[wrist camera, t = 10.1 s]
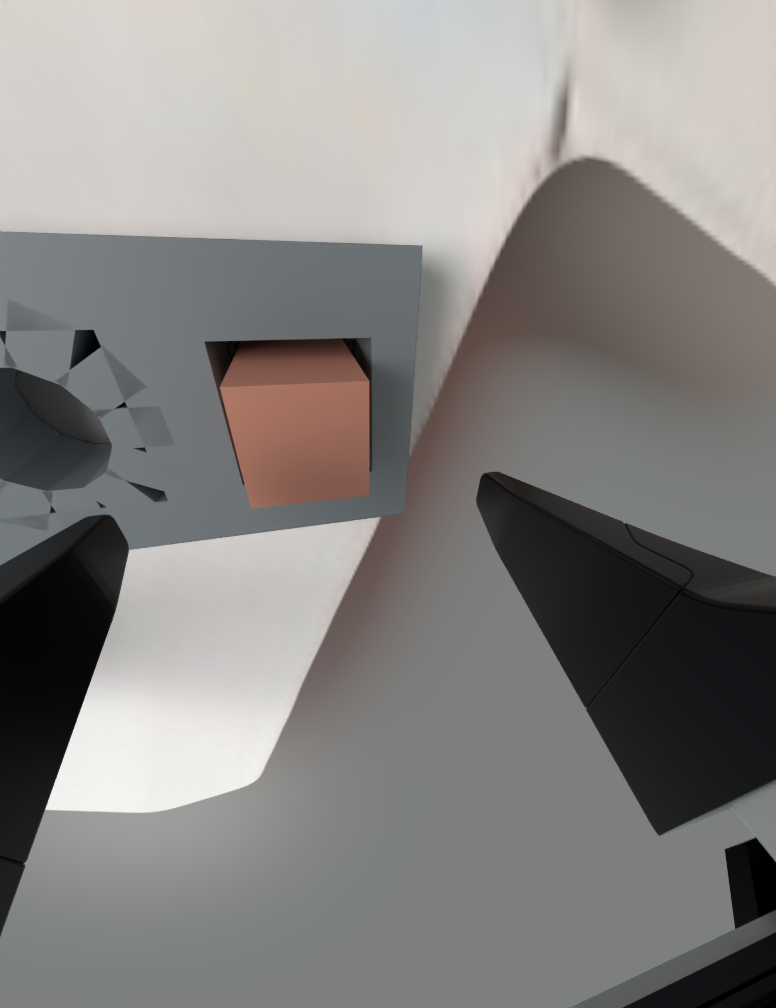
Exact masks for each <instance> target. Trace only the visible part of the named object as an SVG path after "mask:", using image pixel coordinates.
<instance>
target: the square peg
mask: <svg viewBox="0 0 776 1008" xmlns="http://www.w3.org/2000/svg"><path fill="white" fill-rule="evenodd" d="M220 390H221V394H222V398H223V402H224V406H225V410H226V414H227V418H228V421H229V425H230V429H231V433H232V437H233V441H234V445H235V449H236V453H237V457H238V460H239V464H240V468H241V472H242V476H243V480H244V484H245V488H246V492H247V496H248V499H249V503H250V507H251V509H255V508H264V507H273V506H282V505H290V504H299V503H308V502H317V501H326V500H335V499H344V498H353V497H362V496H370V483H369V380H368V378H367V377H366V375H365V374H364V372H363V371H362V369H361V368H360V366H359V364H358V363H357V361H356V360H355V358H354V357H353V355H352V354H351V352H350V351H349V349H348V347H347V346H346V344H345V343H344V341H343V340H342V338H336V339H292V340H248V341H241V343H240V345H239V347H238V349H237V352H236V354H235V356H234V358H233V360H232V362H231V364H230V367H229V369H228V371H227V373H226V375H225V377H224V379H223V381H222V384H221V386H220Z"/></svg>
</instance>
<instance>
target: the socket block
mask: <svg viewBox="0 0 776 1008" xmlns="http://www.w3.org/2000/svg"><path fill="white" fill-rule="evenodd" d="M421 261H422V246H416V245H386V244H356V243H327V242H297V241H267V240H237V239H207V238H177V237H147V236H117V235H87V234H57V233H27V232H0V565H2V564H3V563H5V562H7V561H9V560H10V559H12V558H14V557H16V556H18V555H19V554H21V553H23V552H25V551H26V550H28V549H30V548H32V547H34V546H35V545H37V544H39V543H41V542H42V541H44V540H46V539H48V538H50V537H51V536H53V535H55V534H57V533H58V532H60V531H62V530H64V529H65V528H67V527H69V526H71V525H73V524H74V523H76V522H78V521H80V520H81V519H83V518H85V517H88V516H94V515H103V514H108V515H111V516H112V517H113V518H114V519H115V520H116V522H117V524H118V526H119V527H120V529H121V531H122V533H123V534H124V536H125V538H126V540H127V542H128V545H129V550H131V549H139V548H146V547H154V546H161V545H169V544H177V543H184V542H192V541H200V540H207V539H215V538H222V537H230V536H238V535H245V534H253V533H260V532H268V531H276V530H283V529H291V528H299V527H306V526H314V525H321V524H329V523H337V522H344V521H352V520H360V519H367V518H375V517H382V516H390V515H398V514H405V505H406V490H407V474H408V460H409V444H410V429H411V414H412V399H413V383H414V368H415V353H416V338H417V322H418V307H419V292H420V277H421ZM336 338H355V360H356V361H357V363H358V364H359V366H360V368H361V369H362V371H363V372H364V374H365V375H366V377H367V378H368V380H369V483H370V496H362V497H353V498H344V499H335V500H326V501H317V502H308V503H299V504H290V505H282V506H273V507H264V508H255V509H251V507H250V503H249V499H248V496H247V492H246V488H245V484H244V480H243V476H242V472H241V468H240V464H239V460H238V457H237V453H236V449H235V445H234V441H233V437H232V433H231V429H230V425H229V421H228V418H227V414H226V410H225V406H224V402H223V398H222V394H221V390H220V386H221V384H222V381H223V379H224V377H225V375H226V373H227V371H228V369H229V367H230V364H231V359H230V355H229V351H228V347H227V342H226V341H248V340H292V339H336ZM16 369H17V370H20V371H23V372H25V373H28V374H31V375H34V376H37V377H39V378H42V379H45V380H48V381H50V382H53V383H56V384H59V385H61V386H62V387H64V388H65V389H66V390H67V391H68V392H70V393H71V394H72V395H73V396H75V397H76V398H77V399H78V400H80V401H81V402H82V403H83V404H85V405H86V406H87V407H88V408H89V409H91V410H92V411H93V412H94V413H96V414H97V416H98V418H99V420H100V422H101V424H102V426H103V428H104V430H105V432H106V434H107V436H108V438H109V440H110V442H111V443H102V444H92V443H88V442H85V441H82V440H79V439H76V438H72V437H69V436H66V435H63V434H60V433H59V432H58V431H56V430H55V429H54V428H52V427H51V426H49V425H48V424H47V423H45V422H44V421H43V420H41V419H40V418H38V417H37V416H36V415H34V414H33V413H32V412H31V410H30V408H29V407H28V405H27V403H26V402H25V400H24V399H23V397H22V395H21V394H20V392H19V390H18V389H17V387H16V385H15V383H16Z"/></svg>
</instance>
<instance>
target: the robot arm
mask: <svg viewBox="0 0 776 1008" xmlns="http://www.w3.org/2000/svg"><path fill="white" fill-rule="evenodd" d="M476 502H477V506H478V509H479V511H480V513H481V516H482V518H483V521H484V523H485V526H486V528H487V530H488V532H489V535H490V537H491V540H492V542H493V544H494V546H495V549H496V551H497V552H498V554H499V556H500V558H501V560H502V562H503V563H504V565H505V567H506V569H507V570H508V572H509V574H510V576H511V578H512V579H513V581H514V583H515V585H516V586H517V588H518V590H519V592H520V593H521V595H522V597H523V599H524V600H525V602H526V604H527V606H528V608H529V609H530V611H531V613H532V615H533V616H534V618H535V620H536V622H537V623H538V625H539V627H540V628H541V631H542V632H543V634H544V636H545V638H546V639H547V641H548V643H549V644H550V646H551V648H552V650H553V652H554V654H555V655H556V657H557V659H558V661H559V662H560V664H561V666H562V668H563V669H564V671H565V673H566V675H567V677H568V678H569V680H570V682H571V683H572V685H573V687H574V689H575V691H576V692H577V694H578V696H579V698H580V699H581V701H582V703H583V705H584V707H586V708H587V709H586V710H587V712H588V714H589V715H590V718H591V719H592V721H593V723H594V725H595V726H596V728H597V730H598V731H599V733H600V735H601V737H602V739H603V740H604V742H605V744H606V746H607V748H608V749H609V751H610V753H611V755H612V756H613V758H614V760H615V762H616V763H617V765H618V767H619V769H620V771H621V772H622V774H623V776H624V778H625V779H626V781H627V783H628V785H629V786H630V788H631V790H632V792H633V794H634V795H635V797H636V799H637V800H638V802H639V804H640V806H641V807H642V809H643V811H644V813H645V815H646V816H647V818H648V820H649V822H650V823H651V825H652V827H653V828H654V830H655V831H656V833H657V834H658V835H659V836H661V835H664V834H666V833H669V832H671V831H674V830H677V829H679V828H682V827H684V826H687V825H690V824H692V823H695V822H697V821H700V820H703V819H705V818H708V817H711V816H713V815H716V814H719V813H721V812H724V811H726V810H729V809H732V808H733V809H734V811H735V812H736V813H737V815H738V816H739V817H740V818H741V819H742V821H743V822H744V823H745V825H746V826H747V827H748V828H749V830H750V831H751V832H752V833H753V835H754V836H755V837H753V838H751V839H749V840H746V841H744V842H741V843H739V844H736V845H734V846H732V847H729V848H727V849H725V855H726V862H727V870H728V877H729V885H730V892H731V900H732V908H733V915H734V923H735V930H733V931H731V932H728V933H726V934H724V935H722V936H720V937H718V938H716V939H714V940H712V941H710V942H707V943H705V944H703V945H701V946H699V947H697V948H695V949H693V950H691V951H688V952H686V953H684V954H682V955H680V956H678V957H676V958H674V959H671V960H669V961H667V962H665V963H663V964H661V965H659V966H657V967H655V968H653V969H650V970H648V971H646V972H644V973H642V974H640V975H638V976H636V977H634V978H631V979H629V980H627V981H626V982H623V983H621V984H619V985H617V986H615V987H612V988H611V989H608V990H606V991H604V992H602V993H600V994H598V995H596V996H594V997H591V998H589V999H587V1000H585V1001H583V1002H581V1003H579V1004H577V1005H575V1006H573V1007H570V1008H776V577H775V576H772V575H768V574H765V573H762V572H759V571H756V570H753V569H750V568H747V567H745V566H741V565H739V564H736V563H733V562H730V561H727V560H725V559H722V558H719V557H716V556H713V555H710V554H707V553H704V552H701V551H699V550H696V549H693V548H690V547H687V546H684V545H682V544H679V543H676V542H674V541H671V540H668V539H665V538H663V537H660V536H658V535H655V534H652V533H650V532H647V531H644V530H642V529H639V528H637V527H635V526H632V525H629V524H627V523H626V524H624V523H623V522H622V521H619V520H617V519H614V518H612V517H609V516H607V515H604V514H602V513H599V512H597V511H594V510H592V509H589V508H587V507H584V506H582V505H579V504H577V503H574V502H572V501H569V500H567V499H564V498H562V497H560V496H557V495H554V494H552V493H550V492H547V491H544V490H542V489H540V488H537V487H535V486H532V485H530V484H527V483H524V482H522V481H520V480H517V479H515V478H512V477H510V476H507V475H505V474H502V473H500V472H490V473H484V474H483V475H482V476H481V479H480V484H479V489H478V493H477V500H476ZM128 553H129V545H128V542H127V540H126V538H125V536H124V534H123V533H122V531H121V529H120V527H119V526H118V524H117V522H116V520H115V519H114V518H113V517H112V516H111V515H108V514H103V515H94V516H88V517H85V518H83V519H81V520H80V521H78V522H76V523H74V524H73V525H71V526H69V527H67V528H65V529H64V530H62V531H60V532H58V533H57V534H55V535H53V536H51V537H50V538H48V539H46V540H44V541H42V542H41V543H39V544H37V545H35V546H34V547H32V548H30V549H28V550H26V551H25V552H23V553H21V554H19V555H18V556H16V557H14V558H12V559H10V560H9V561H7V562H5V563H3V564H2V565H0V936H1V933H2V930H3V927H4V924H5V922H6V919H7V916H8V913H9V910H10V908H11V905H12V902H13V899H14V896H15V894H16V891H17V888H18V885H19V882H20V879H21V877H22V874H23V871H24V868H25V864H24V863H25V862H26V861H27V859H28V856H29V853H30V850H31V847H32V845H33V842H34V839H35V836H36V834H37V831H38V828H39V825H40V822H41V820H42V817H43V814H44V811H45V808H46V805H47V803H48V800H49V797H50V794H51V791H52V789H53V786H54V783H55V780H56V777H57V775H58V772H59V769H60V766H61V763H62V760H63V758H64V755H65V752H66V749H67V746H68V744H69V741H70V738H71V735H72V732H73V730H74V727H75V724H76V721H77V718H78V716H79V713H80V710H81V707H82V704H83V701H84V699H85V696H86V693H87V690H88V687H89V685H90V682H91V679H92V676H93V673H94V671H95V668H96V665H97V662H98V659H99V656H100V654H101V651H102V648H103V645H104V642H105V640H106V637H107V634H108V631H109V628H110V626H111V623H112V620H113V617H114V614H115V611H116V607H117V603H118V599H119V594H120V590H121V585H122V580H123V576H124V571H125V567H126V562H127V557H128Z"/></svg>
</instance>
